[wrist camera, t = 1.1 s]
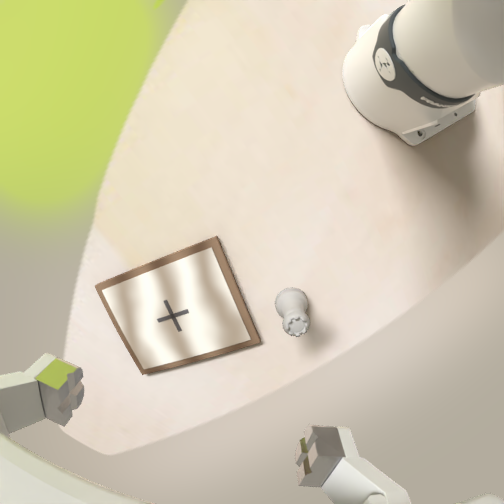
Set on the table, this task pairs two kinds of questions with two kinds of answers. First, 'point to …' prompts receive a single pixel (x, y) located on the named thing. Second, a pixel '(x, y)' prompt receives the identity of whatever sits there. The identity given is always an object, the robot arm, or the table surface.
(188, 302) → the brown-bordered mat
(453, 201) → the table surface
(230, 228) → the table surface
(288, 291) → the rook chess piece
